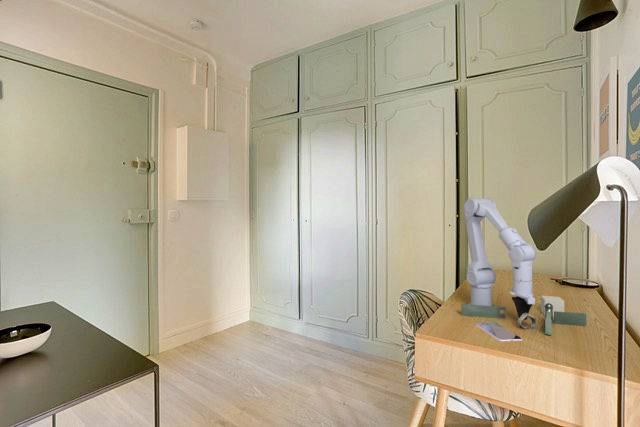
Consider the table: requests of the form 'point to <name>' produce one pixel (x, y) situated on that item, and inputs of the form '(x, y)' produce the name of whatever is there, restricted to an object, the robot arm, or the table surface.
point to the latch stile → (483, 311)
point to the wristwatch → (524, 318)
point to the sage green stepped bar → (548, 323)
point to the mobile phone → (498, 331)
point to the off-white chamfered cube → (555, 301)
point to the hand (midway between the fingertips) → (522, 319)
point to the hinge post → (566, 317)
